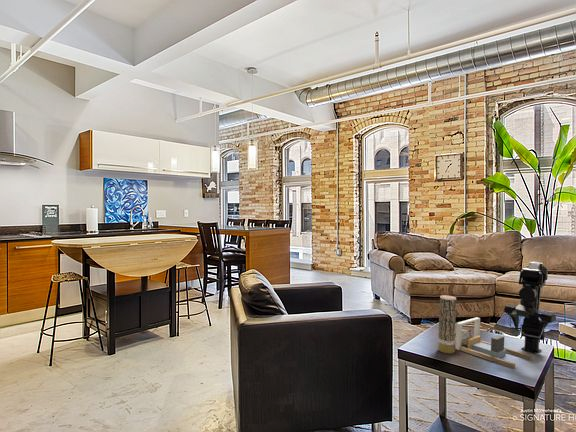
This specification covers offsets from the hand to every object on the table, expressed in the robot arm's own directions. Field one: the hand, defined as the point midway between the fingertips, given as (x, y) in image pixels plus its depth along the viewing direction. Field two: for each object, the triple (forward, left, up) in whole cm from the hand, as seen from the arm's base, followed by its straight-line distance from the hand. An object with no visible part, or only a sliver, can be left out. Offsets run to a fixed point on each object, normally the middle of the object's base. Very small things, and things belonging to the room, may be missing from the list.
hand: (528, 332), depth 164 cm
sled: (+6, -14, -12) cm, 20 cm away
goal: (+6, -24, -12) cm, 27 cm away
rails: (+6, -11, -12) cm, 17 cm away
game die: (+7, -25, -12) cm, 29 cm away
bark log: (+22, -25, -12) cm, 35 cm away
